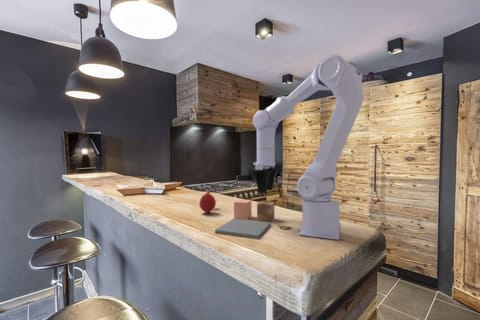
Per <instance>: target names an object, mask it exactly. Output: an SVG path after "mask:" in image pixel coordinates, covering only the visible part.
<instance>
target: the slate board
mask: <svg viewBox="0 0 480 320" xmlns="http://www.w3.org/2000/svg"><path fill="white" fill-rule="evenodd" d="M271 224H272V222H263V221H257V220H252V219H251V220H250V219H249V220H248V219H247V220H245V219H235V218H232V219H230V220H229V221H228V222H226V223H224V224H223V225H220V226H219V227H217V228H216V229H215V230H214V232H215V233H214V234H220V235H228V236H236V237H242V238H249V239H257V240H258V239H260V238H261V236H263V234H264V233H265V232H266V231H267V230H268V229H269V228H270V227H271Z"/></svg>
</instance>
